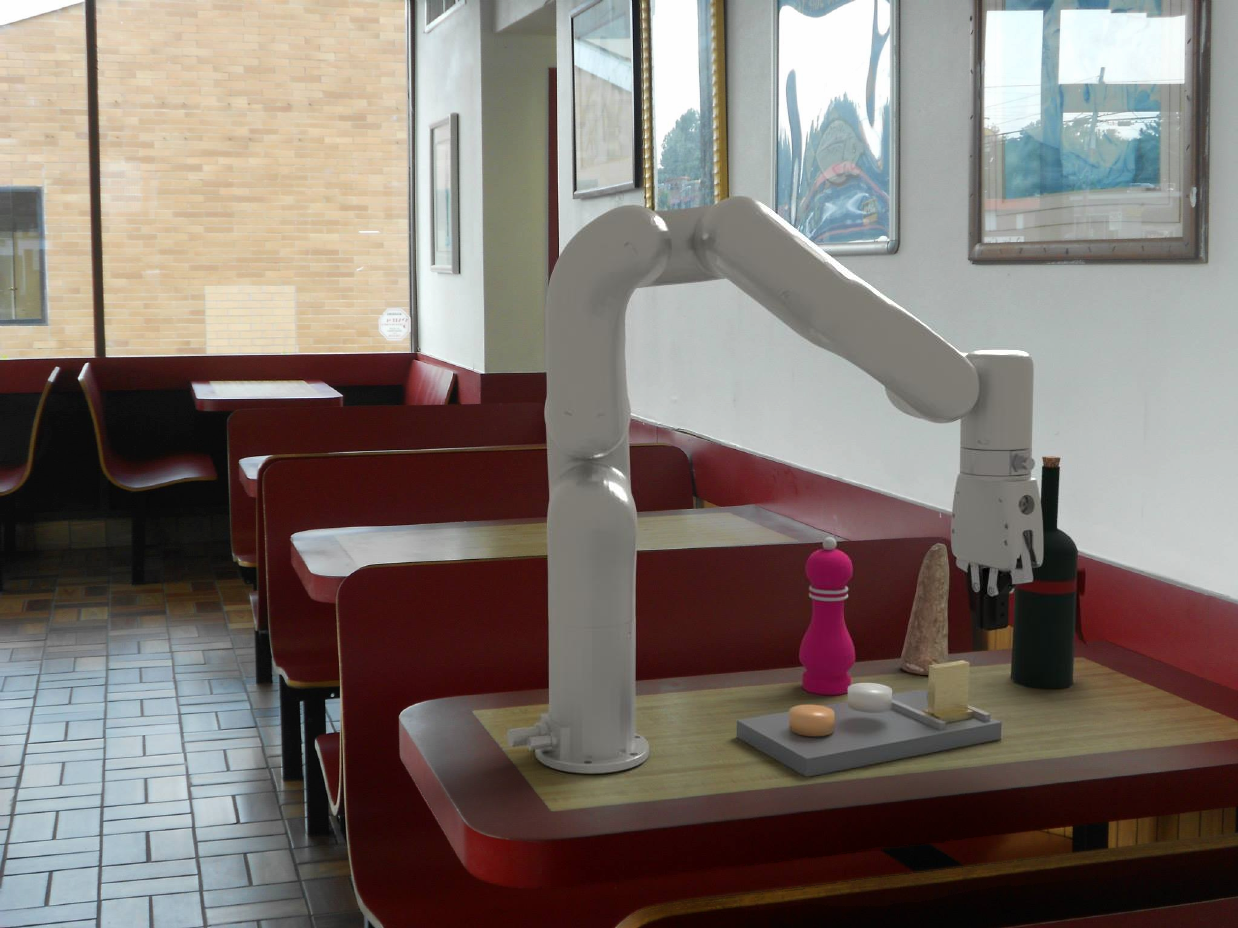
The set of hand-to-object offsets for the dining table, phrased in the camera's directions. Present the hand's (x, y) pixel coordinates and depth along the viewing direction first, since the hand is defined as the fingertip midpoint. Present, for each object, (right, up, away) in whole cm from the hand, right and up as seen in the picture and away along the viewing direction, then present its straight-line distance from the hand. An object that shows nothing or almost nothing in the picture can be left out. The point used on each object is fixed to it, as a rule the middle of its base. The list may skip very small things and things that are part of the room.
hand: (992, 627), depth 140 cm
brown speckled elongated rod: (0, -10, +33) cm, 35 cm away
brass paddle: (-3, -11, +7) cm, 14 cm away
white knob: (-13, -10, +5) cm, 17 cm away
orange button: (-20, -12, +2) cm, 23 cm away
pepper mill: (-14, -11, +25) cm, 31 cm away
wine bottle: (+16, -11, +29) cm, 35 cm away
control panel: (-13, -14, +6) cm, 19 cm away
